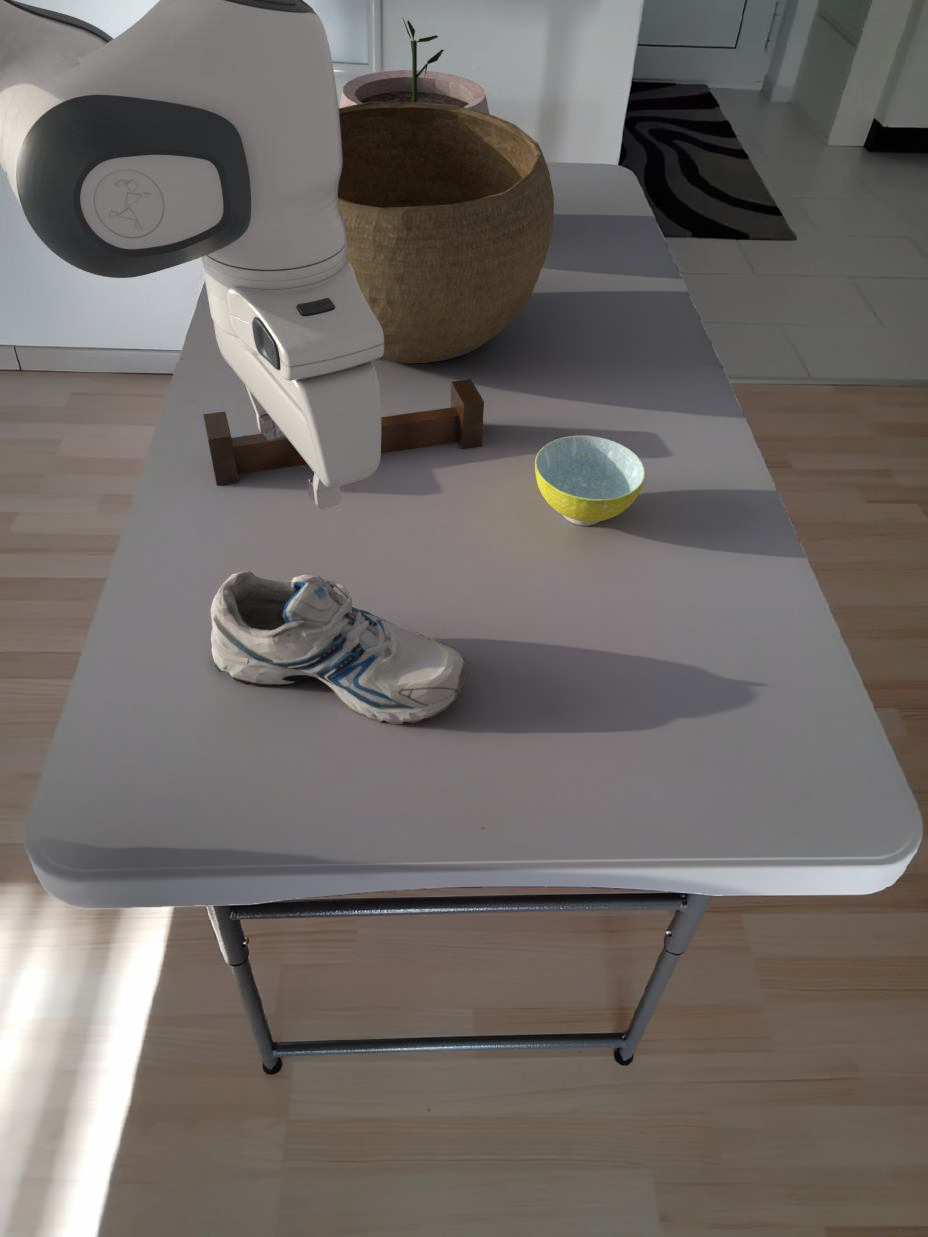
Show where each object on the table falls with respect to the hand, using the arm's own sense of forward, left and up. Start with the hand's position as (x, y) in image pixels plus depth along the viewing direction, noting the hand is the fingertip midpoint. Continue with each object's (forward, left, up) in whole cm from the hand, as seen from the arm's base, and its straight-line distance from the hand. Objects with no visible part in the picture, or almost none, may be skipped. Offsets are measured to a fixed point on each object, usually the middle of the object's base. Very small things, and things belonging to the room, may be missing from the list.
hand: (298, 466), depth 68 cm
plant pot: (+32, +88, -22) cm, 96 cm away
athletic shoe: (+1, -2, -22) cm, 22 cm away
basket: (+23, +56, -22) cm, 64 cm away
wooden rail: (+9, +31, -22) cm, 39 cm away
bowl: (+31, +14, -22) cm, 41 cm away
